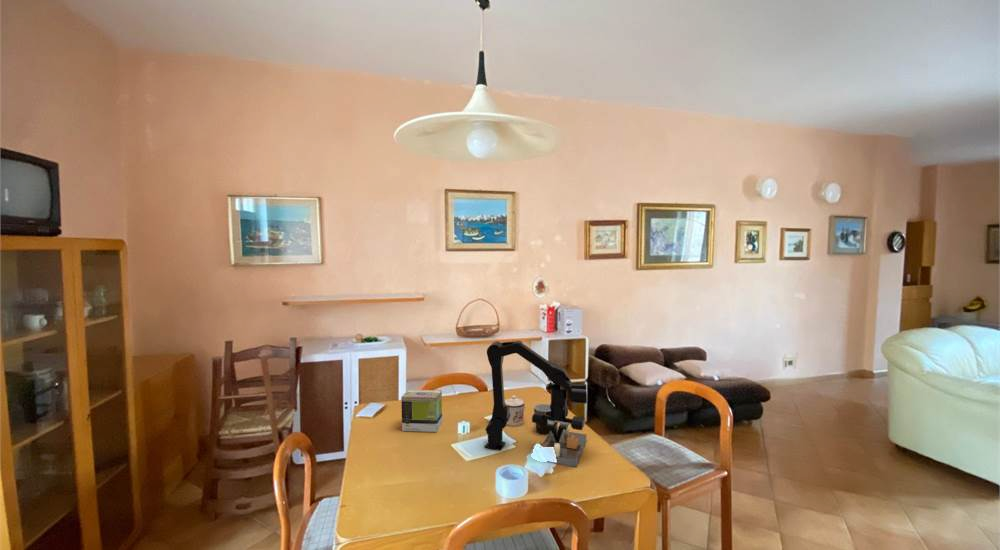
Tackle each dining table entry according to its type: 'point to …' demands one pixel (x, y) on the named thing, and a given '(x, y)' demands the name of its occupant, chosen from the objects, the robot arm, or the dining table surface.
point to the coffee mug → (542, 426)
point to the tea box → (422, 410)
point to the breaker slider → (572, 441)
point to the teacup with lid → (515, 411)
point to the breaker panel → (567, 454)
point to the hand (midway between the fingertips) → (557, 442)
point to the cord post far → (566, 432)
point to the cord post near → (557, 449)
